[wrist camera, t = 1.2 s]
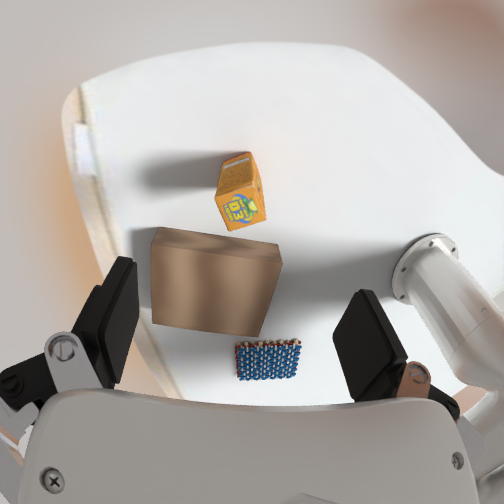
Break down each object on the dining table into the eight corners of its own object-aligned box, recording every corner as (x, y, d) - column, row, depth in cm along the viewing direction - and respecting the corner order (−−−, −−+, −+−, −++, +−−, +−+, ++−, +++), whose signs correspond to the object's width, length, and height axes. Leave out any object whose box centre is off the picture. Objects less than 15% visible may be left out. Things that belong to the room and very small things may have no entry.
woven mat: (233, 338, 43) (233, 348, 41) (300, 335, 43) (302, 344, 41) (236, 374, 48) (236, 383, 46) (293, 370, 49) (295, 379, 47)
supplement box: (219, 161, 28) (211, 195, 19) (251, 150, 27) (257, 178, 19) (230, 189, 30) (228, 234, 21) (261, 179, 29) (272, 219, 21)
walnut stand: (277, 244, 33) (282, 263, 30) (256, 316, 40) (258, 337, 36) (159, 226, 31) (151, 244, 28) (158, 302, 37) (152, 323, 34)
